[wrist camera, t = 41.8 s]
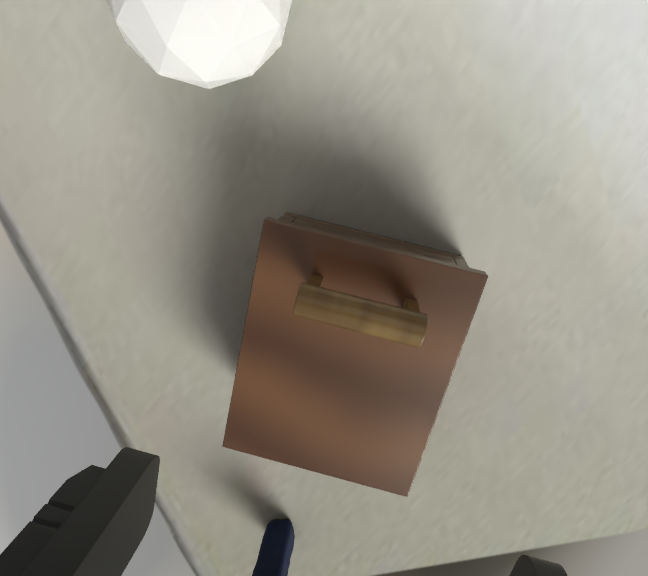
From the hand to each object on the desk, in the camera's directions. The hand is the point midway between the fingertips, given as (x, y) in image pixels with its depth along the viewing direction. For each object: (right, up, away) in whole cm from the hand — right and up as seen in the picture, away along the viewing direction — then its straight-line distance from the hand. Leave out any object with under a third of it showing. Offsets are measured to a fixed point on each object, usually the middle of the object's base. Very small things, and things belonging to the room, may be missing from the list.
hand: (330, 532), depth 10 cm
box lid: (+1, +1, +17) cm, 17 cm away
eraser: (-4, -14, +29) cm, 33 cm away
